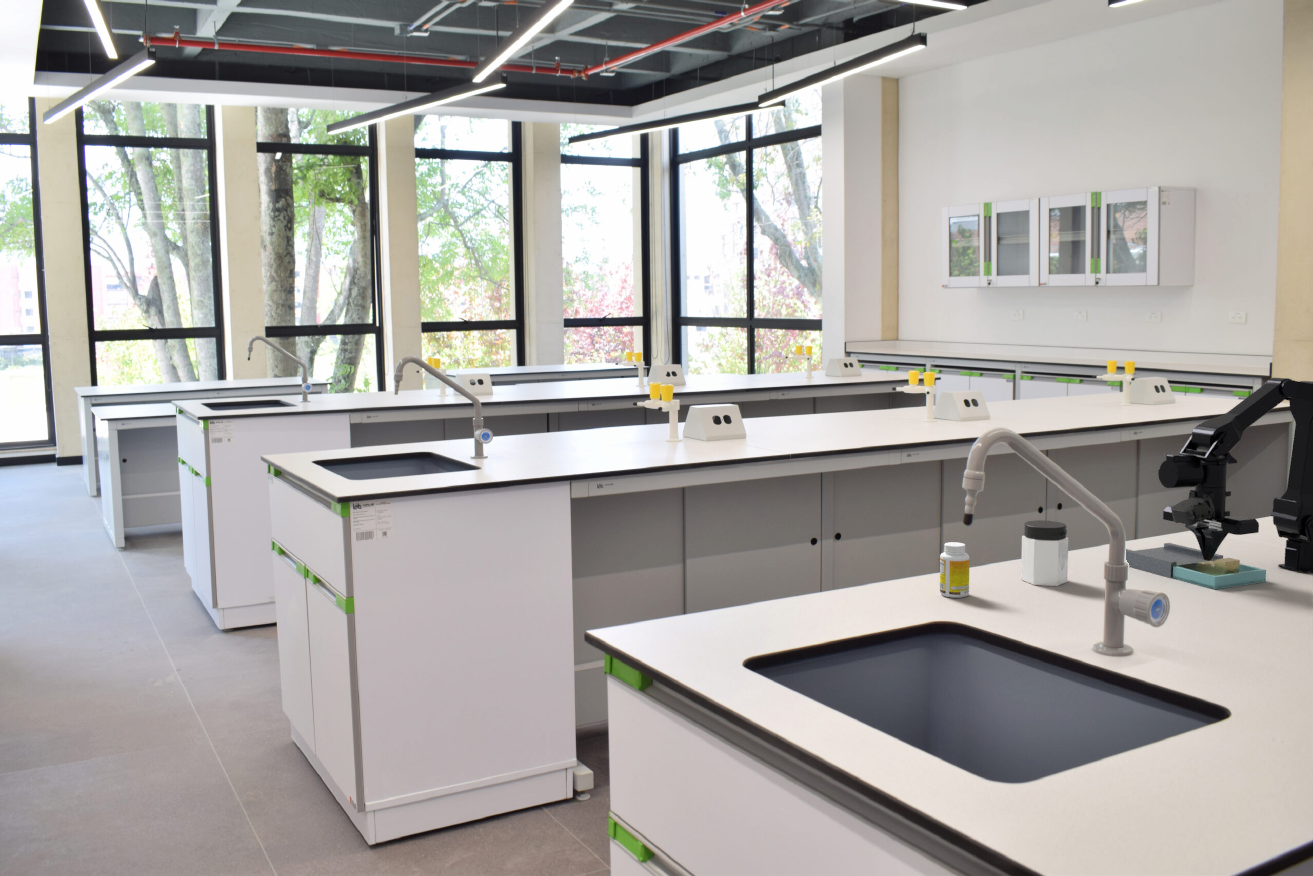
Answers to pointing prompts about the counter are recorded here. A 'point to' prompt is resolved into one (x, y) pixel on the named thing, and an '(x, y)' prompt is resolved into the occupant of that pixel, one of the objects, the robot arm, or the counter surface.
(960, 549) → the supplement bottle
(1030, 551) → the jar
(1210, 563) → the tan square block
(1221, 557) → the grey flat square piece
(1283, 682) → the counter surface
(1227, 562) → the chip
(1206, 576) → the tray
